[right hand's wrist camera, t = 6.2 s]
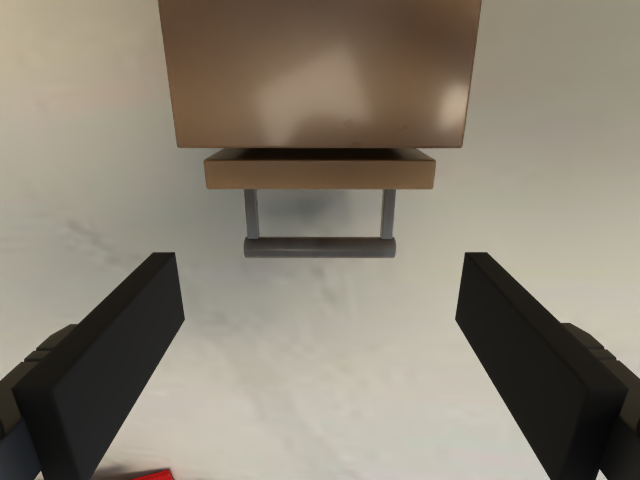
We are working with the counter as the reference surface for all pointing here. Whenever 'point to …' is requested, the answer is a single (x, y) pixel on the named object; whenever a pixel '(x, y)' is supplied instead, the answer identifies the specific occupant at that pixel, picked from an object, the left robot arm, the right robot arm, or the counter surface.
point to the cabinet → (319, 72)
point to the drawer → (319, 173)
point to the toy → (157, 476)
